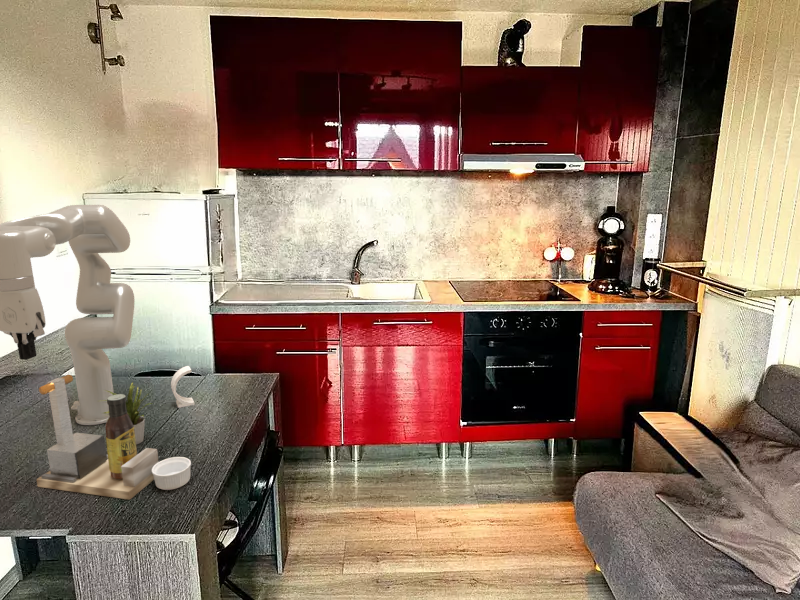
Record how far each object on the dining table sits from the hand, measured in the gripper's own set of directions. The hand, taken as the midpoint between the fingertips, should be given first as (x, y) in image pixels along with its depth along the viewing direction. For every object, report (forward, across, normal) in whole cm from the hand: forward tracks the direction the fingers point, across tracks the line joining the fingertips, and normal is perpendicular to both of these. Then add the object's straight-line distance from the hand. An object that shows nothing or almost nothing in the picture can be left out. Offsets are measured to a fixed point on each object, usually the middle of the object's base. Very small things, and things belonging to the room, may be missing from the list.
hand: (28, 357), depth 133 cm
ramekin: (+30, +35, +2) cm, 46 cm away
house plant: (+31, +10, +18) cm, 37 cm away
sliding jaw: (+28, +11, -1) cm, 30 cm away
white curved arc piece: (+31, +10, +43) cm, 54 cm away
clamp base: (+30, +17, -1) cm, 35 cm away
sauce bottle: (+28, +24, -1) cm, 37 cm away
